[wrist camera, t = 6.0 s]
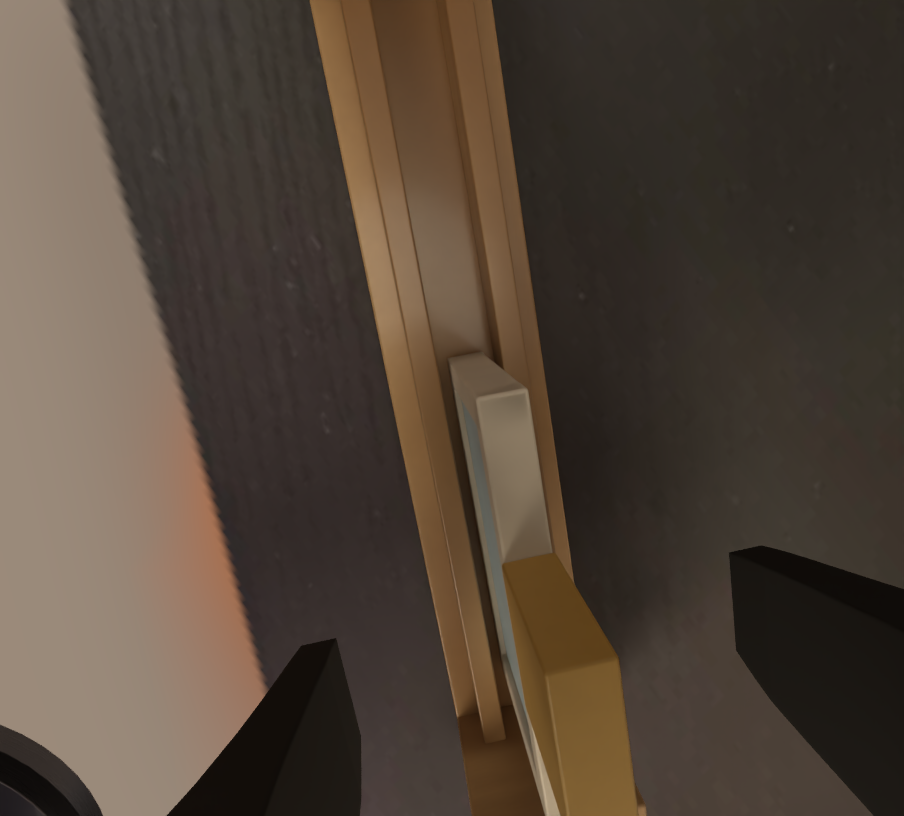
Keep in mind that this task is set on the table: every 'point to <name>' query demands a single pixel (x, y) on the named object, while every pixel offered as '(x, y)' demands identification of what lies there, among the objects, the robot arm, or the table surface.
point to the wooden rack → (445, 312)
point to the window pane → (541, 608)
